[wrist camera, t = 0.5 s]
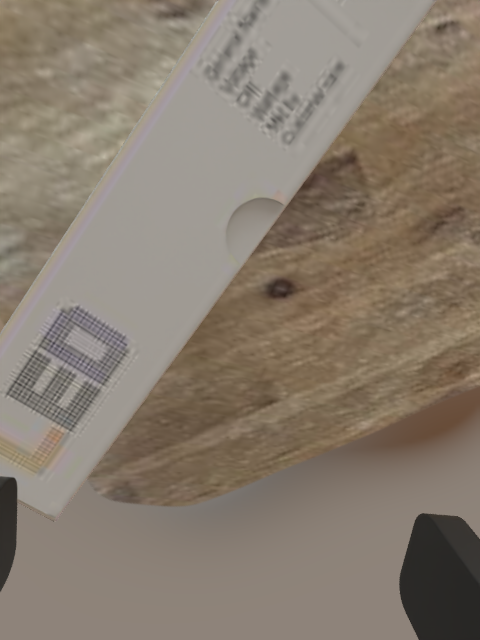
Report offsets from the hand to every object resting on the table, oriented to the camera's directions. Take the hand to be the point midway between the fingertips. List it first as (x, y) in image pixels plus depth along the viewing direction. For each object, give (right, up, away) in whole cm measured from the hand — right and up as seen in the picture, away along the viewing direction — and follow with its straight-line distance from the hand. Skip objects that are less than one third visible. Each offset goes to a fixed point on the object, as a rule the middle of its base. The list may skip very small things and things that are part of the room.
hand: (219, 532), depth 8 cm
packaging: (-3, +14, +27) cm, 30 cm away
